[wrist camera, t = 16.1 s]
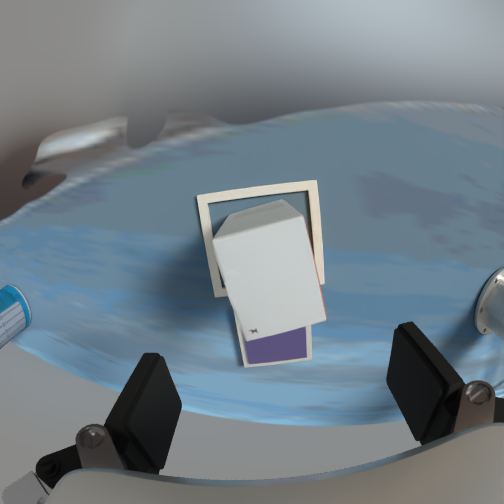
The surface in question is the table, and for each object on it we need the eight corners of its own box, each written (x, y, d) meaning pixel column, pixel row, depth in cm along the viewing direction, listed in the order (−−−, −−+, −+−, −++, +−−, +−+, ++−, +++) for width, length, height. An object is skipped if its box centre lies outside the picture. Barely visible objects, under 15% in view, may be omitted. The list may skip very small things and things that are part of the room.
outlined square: (315, 180, 29) (316, 180, 28) (323, 282, 32) (324, 283, 32) (197, 195, 29) (196, 195, 29) (215, 296, 33) (215, 297, 32)
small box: (301, 265, 32) (328, 322, 19) (248, 279, 32) (244, 344, 20) (283, 196, 29) (304, 213, 17) (227, 213, 30) (207, 241, 17)
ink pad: (308, 296, 33) (310, 301, 31) (310, 354, 35) (312, 360, 34) (233, 305, 33) (233, 310, 32) (244, 362, 35) (244, 368, 34)
